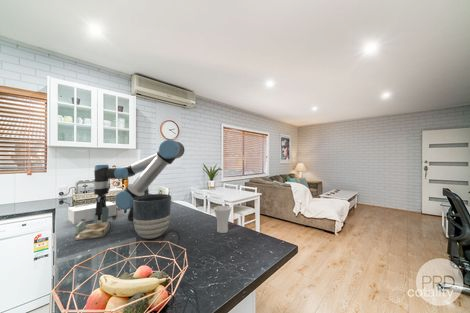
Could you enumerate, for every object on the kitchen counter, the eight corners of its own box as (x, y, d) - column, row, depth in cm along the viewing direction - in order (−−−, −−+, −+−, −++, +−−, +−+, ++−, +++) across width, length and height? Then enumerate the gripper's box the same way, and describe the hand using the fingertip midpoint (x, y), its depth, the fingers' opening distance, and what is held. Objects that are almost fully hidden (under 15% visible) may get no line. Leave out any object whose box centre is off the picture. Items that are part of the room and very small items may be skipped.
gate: (85, 226, 119) (85, 217, 119) (78, 233, 108) (78, 223, 108) (82, 227, 119) (82, 217, 119) (75, 234, 108) (75, 223, 108)
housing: (109, 227, 118) (109, 222, 118) (104, 236, 105) (104, 229, 105) (83, 230, 113) (83, 224, 113) (74, 240, 100) (74, 233, 100)
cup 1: (100, 226, 120) (101, 210, 120) (90, 225, 122) (90, 209, 122) (111, 222, 128) (111, 207, 128) (101, 221, 129) (101, 206, 130)
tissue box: (116, 215, 145) (116, 201, 145) (73, 224, 125) (74, 207, 125) (108, 212, 153) (108, 198, 153) (68, 220, 134) (68, 204, 134)
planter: (178, 232, 110) (178, 195, 111) (153, 247, 92) (153, 202, 92) (151, 228, 117) (151, 193, 117) (123, 241, 98) (123, 199, 99)
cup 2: (234, 229, 115) (234, 206, 115) (226, 235, 106) (226, 211, 106) (219, 226, 120) (219, 205, 120) (210, 232, 110) (210, 209, 110)
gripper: (98, 186, 133) (98, 218, 133) (89, 190, 114) (89, 229, 114) (111, 185, 136) (111, 217, 136) (104, 189, 117) (104, 227, 117)
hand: (101, 222), depth 125 cm, fingers closed on cup 1, 8 cm apart
